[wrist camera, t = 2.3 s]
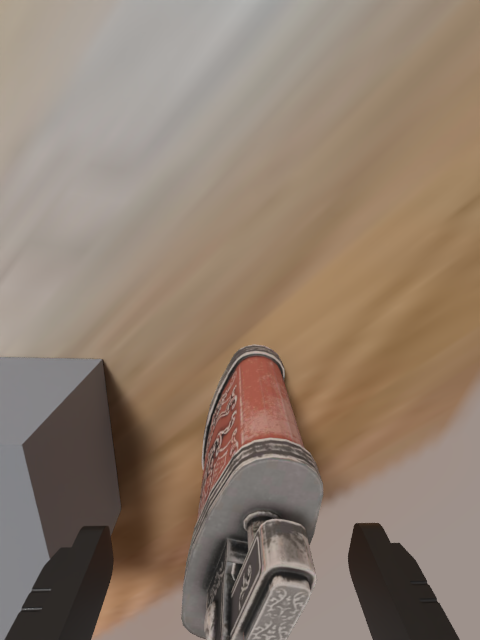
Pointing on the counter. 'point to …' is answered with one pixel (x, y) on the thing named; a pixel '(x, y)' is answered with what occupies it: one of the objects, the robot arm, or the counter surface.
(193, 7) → the counter surface
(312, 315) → the counter surface
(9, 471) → the pedestal block
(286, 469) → the lighter
